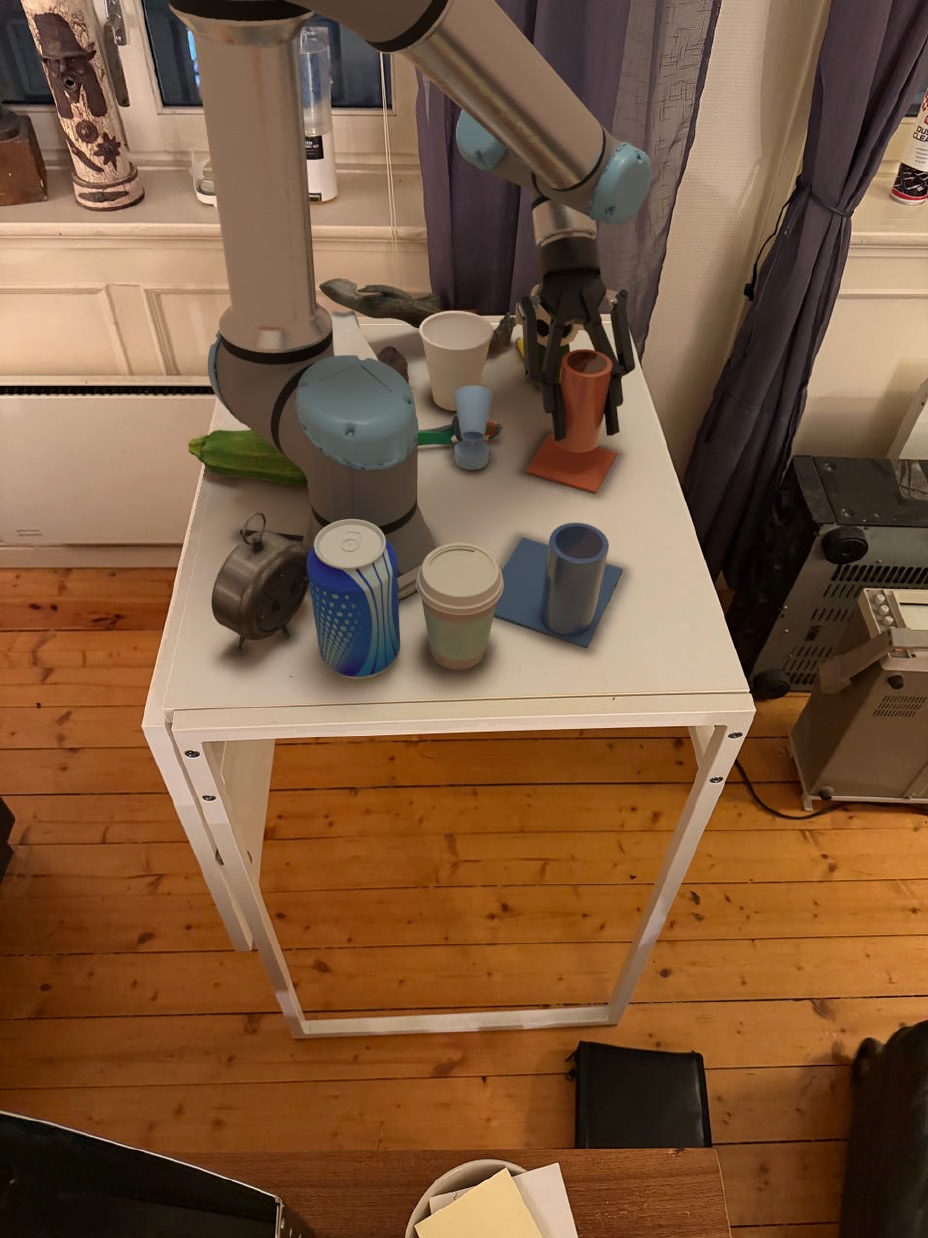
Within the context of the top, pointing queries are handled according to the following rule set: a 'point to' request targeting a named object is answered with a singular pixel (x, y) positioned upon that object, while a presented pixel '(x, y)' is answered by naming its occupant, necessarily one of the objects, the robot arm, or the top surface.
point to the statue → (399, 305)
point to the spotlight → (472, 426)
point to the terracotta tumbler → (583, 398)
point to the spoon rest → (349, 336)
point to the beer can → (355, 598)
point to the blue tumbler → (573, 578)
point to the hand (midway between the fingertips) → (586, 436)
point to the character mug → (543, 333)
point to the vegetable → (245, 457)
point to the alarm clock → (260, 585)
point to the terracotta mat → (572, 466)
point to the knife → (452, 433)
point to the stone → (394, 361)
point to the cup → (454, 352)
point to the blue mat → (526, 591)
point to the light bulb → (520, 344)
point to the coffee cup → (459, 602)
